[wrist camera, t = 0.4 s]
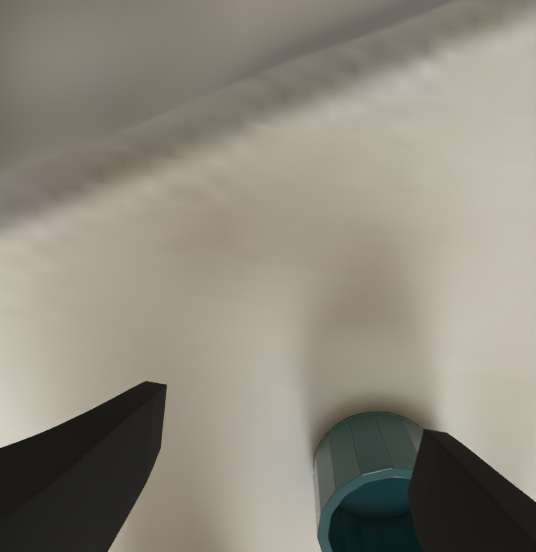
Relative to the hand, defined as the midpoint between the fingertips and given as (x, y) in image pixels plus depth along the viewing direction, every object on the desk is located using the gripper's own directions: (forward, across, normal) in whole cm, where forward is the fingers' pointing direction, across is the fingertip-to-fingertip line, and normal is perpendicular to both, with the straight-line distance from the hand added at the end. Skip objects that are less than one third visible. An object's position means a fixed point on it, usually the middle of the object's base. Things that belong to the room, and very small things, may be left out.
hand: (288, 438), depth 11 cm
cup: (+10, -6, +8) cm, 14 cm away
